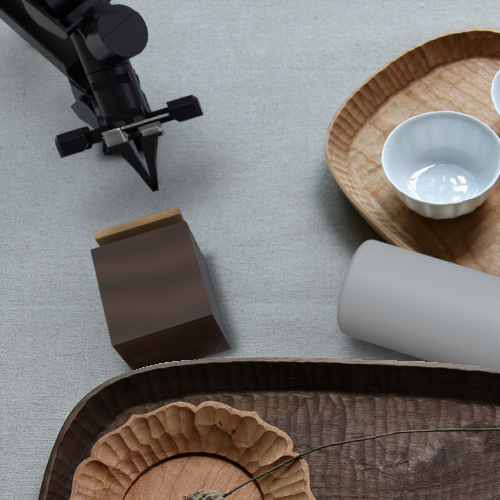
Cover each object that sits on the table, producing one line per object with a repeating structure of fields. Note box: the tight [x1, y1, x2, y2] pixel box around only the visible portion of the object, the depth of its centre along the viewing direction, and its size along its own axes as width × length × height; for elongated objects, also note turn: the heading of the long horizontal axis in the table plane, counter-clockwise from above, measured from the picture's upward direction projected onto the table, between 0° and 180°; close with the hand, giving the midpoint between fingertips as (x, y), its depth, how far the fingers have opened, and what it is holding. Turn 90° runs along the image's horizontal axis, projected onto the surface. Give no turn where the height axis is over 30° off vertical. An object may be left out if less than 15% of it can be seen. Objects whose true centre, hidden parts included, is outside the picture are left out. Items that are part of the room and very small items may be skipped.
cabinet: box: [90, 219, 232, 371], centre depth 105 cm, size 15×13×10 cm
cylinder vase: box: [336, 239, 500, 373], centre depth 101 cm, size 12×12×25 cm
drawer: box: [93, 206, 185, 247], centre depth 107 cm, size 15×11×8 cm
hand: (156, 191), depth 108 cm, fingers closed
